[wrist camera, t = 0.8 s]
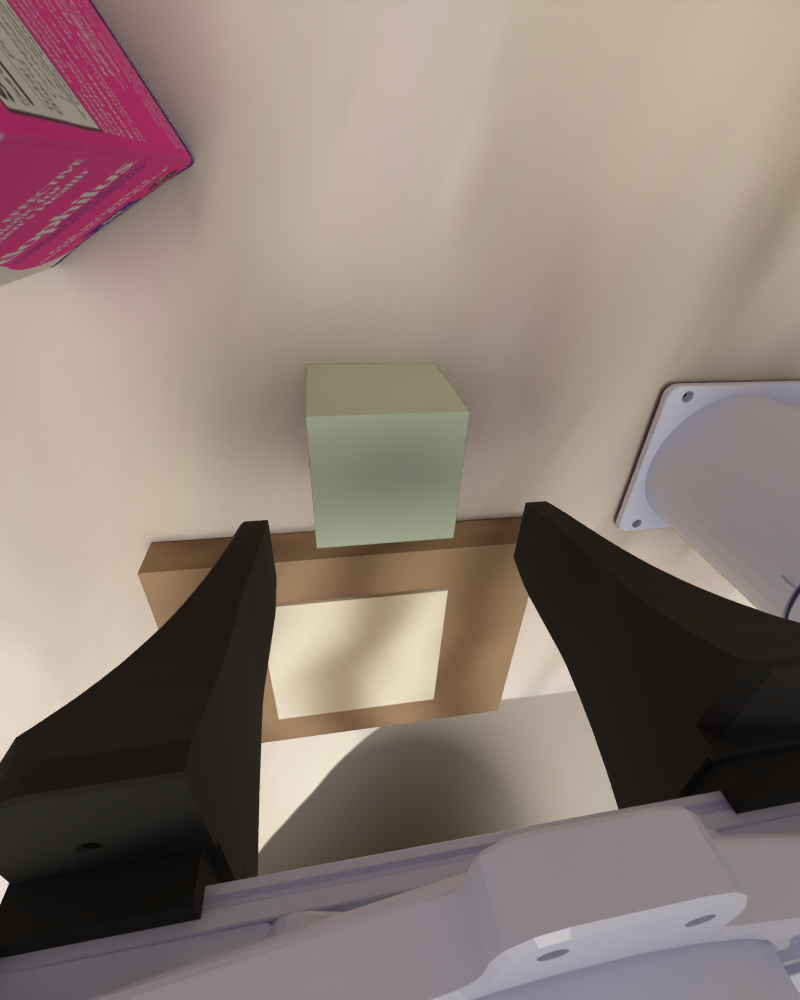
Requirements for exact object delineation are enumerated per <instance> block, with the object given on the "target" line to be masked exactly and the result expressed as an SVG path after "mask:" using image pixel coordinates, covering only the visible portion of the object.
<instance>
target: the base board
mask: <svg viewBox="0 0 800 1000" xmlns="http://www.w3.org/2000/svg"><path fill="white" fill-rule="evenodd" d="M521 522H522V517H517V518H503V519H488V520H474V521H460V522H455V529H454V537H453V538H445V539H432V540H419V541H405V542H392V543H379V544H366V545H353V546H339V547H326V548H317V545H316V533H315V532H304V533H289V534H275V535H270V537H271V544H272V550H273V557H274V563H275V570H276V576H277V589H276V614H275V621H274V628H273V635H272V642H271V649H270V655H269V662H268V669H267V675H266V682H265V690H264V699H263V714H262V736H261V743H264V742H271V741H279V740H286V739H293V738H301V737H308V736H315V735H322V734H330V733H337V732H344V731H351V730H359V729H366V728H373V727H380V726H388V725H394V724H402V723H409V722H417V721H423V720H431V719H438V718H446V717H452V716H460V715H467V714H474V713H482V712H489V711H496V710H498V708H499V704H500V700H501V697H502V693H503V689H504V686H505V682H506V678H507V674H508V671H509V667H510V663H511V660H512V656H513V652H514V648H515V645H516V641H517V637H518V634H519V630H520V626H521V622H522V619H523V615H524V611H525V608H526V604H527V600H528V596H529V595H528V593H527V591H526V589H525V587H524V584H523V582H522V579H521V577H520V574H519V571H518V569H517V566H516V563H515V560H514V552H515V548H516V544H517V539H518V535H519V530H520V526H521ZM232 538H233V537H232ZM232 538H218V539H204V540H190V541H176V542H161V543H151V545H150V547H149V549H148V551H147V554H146V556H145V558H144V560H143V563H142V565H141V567H140V569H139V572H138V576H139V578H140V581H141V584H142V586H143V589H144V592H145V594H146V597H147V599H148V602H149V605H150V607H151V610H152V613H153V615H154V618H155V621H156V623H157V626H158V628H159V629H160V628H161V627H162V626H163V625H164V624H165V623H166V622H167V621H168V620H169V619H170V618H171V616H172V615H173V614H174V613H175V612H176V611H177V610H178V609H179V608H180V607H181V606H182V604H183V603H184V602H185V601H186V600H187V599H188V597H189V596H190V595H191V594H192V593H193V591H194V590H195V589H196V588H197V587H198V585H199V584H200V583H201V582H202V580H203V579H204V578H205V577H206V575H207V574H208V573H209V571H210V570H211V569H212V567H213V566H214V564H215V563H216V562H217V560H218V559H219V558H220V556H221V555H222V553H223V552H224V550H225V549H226V547H227V546H228V544H229V543H230V541H231V540H232Z"/></svg>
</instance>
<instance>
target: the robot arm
mask: <svg viewBox="0 0 800 1000" xmlns="http://www.w3.org/2000/svg"><path fill="white" fill-rule="evenodd" d="M685 393H687V395H686V396H685V397H684V398H683V399H682V397H683V396H684V394H685ZM634 521H635V522H634ZM616 526H617V527H618V528H619V529H620V530H621V531H633V530H646V529H659V528H672V529H673V530H674V531H675V532H676V533H677V534H678V535H679V536H681V537H682V538H683V539H684V540H685V541H686V542H687V543H688V544H689V545H690V546H691V547H692V548H693V549H694V550H695V551H697V552H698V553H699V554H700V555H701V556H702V557H703V558H704V559H705V560H706V561H707V562H708V563H709V564H710V565H711V566H712V567H714V568H715V569H716V570H717V571H718V572H719V573H720V574H721V575H722V576H723V577H724V578H725V579H726V580H727V581H728V582H729V583H731V584H732V585H733V586H734V587H735V588H736V589H737V590H738V591H739V592H740V593H741V594H742V595H743V596H744V597H745V598H747V599H748V600H749V601H750V602H751V603H752V604H753V605H754V606H755V607H756V608H757V609H758V610H757V609H754V608H751V607H748V606H745V605H742V604H739V603H737V602H734V601H731V600H729V599H726V598H723V597H721V596H718V595H716V594H713V593H711V592H708V591H706V590H704V589H701V588H699V587H696V586H694V585H692V584H689V583H687V582H685V581H683V580H680V579H678V578H676V577H674V576H672V575H670V574H668V573H666V572H664V571H662V570H660V569H658V568H656V567H654V566H652V565H650V564H648V563H646V562H644V561H643V560H641V559H639V558H637V557H635V556H634V555H632V554H630V553H628V552H627V551H625V550H623V549H621V548H620V547H618V546H617V545H615V544H613V543H612V542H610V541H608V540H607V539H605V538H603V537H602V536H600V535H599V534H597V533H596V532H594V531H592V530H591V529H589V528H588V527H586V526H585V525H583V524H582V523H580V522H579V521H577V520H575V519H574V518H572V517H571V516H569V515H568V514H566V513H565V512H563V511H561V510H560V509H558V508H557V507H555V506H553V505H552V504H550V503H548V502H546V501H543V502H528V503H526V504H525V509H524V513H523V517H522V522H521V526H520V530H519V535H518V539H517V544H516V548H515V552H514V560H515V563H516V566H517V569H518V571H519V574H520V577H521V579H522V582H523V584H524V587H525V589H526V591H527V593H528V595H529V596H530V598H531V600H532V602H533V604H534V606H535V608H536V609H537V611H538V613H539V615H540V617H541V619H542V620H543V622H544V624H545V626H546V628H547V629H548V631H549V633H550V635H551V637H552V639H553V640H554V642H555V644H556V646H557V648H558V649H559V651H560V653H561V655H562V657H563V659H564V661H565V663H566V666H567V668H568V670H569V673H570V675H571V677H572V680H573V682H574V685H575V687H576V689H577V692H578V694H579V697H580V699H581V702H582V704H583V707H584V710H585V712H586V715H587V717H588V720H589V722H590V725H591V728H592V730H593V733H594V736H595V739H596V742H597V745H598V748H599V750H600V753H601V756H602V759H603V762H604V765H605V768H606V770H607V774H608V777H609V780H610V783H611V787H612V790H613V793H614V796H615V799H616V802H617V806H618V810H613V811H608V812H603V813H597V814H592V815H587V816H581V817H575V818H570V819H565V820H559V821H554V822H549V823H543V824H538V825H532V826H527V827H522V828H516V829H511V830H505V831H500V832H494V833H489V834H484V835H479V836H473V837H468V838H462V839H457V840H451V841H447V842H441V843H435V844H430V845H424V846H419V847H414V848H408V849H403V850H397V851H392V852H387V853H381V854H376V855H370V856H365V857H360V858H354V859H349V860H343V861H338V862H333V863H327V864H322V865H317V866H311V867H306V868H301V869H295V870H290V871H285V872H279V873H274V874H268V875H263V876H258V828H259V790H260V761H261V736H262V714H263V699H264V690H265V682H266V675H267V669H268V662H269V655H270V649H271V642H272V635H273V628H274V621H275V614H276V589H277V576H276V570H275V563H274V557H273V550H272V544H271V537H270V530H269V524H268V520H262V521H247V522H243V523H242V524H241V525H240V527H239V528H238V530H237V532H236V533H235V535H234V536H233V538H232V540H231V541H230V543H229V544H228V546H227V547H226V549H225V550H224V552H223V553H222V555H221V556H220V558H219V559H218V560H217V562H216V563H215V564H214V566H213V567H212V569H211V570H210V571H209V573H208V574H207V575H206V577H205V578H204V579H203V580H202V582H201V583H200V584H199V585H198V587H197V588H196V589H195V590H194V591H193V593H192V594H191V595H190V596H189V597H188V599H187V600H186V601H185V602H184V603H183V604H182V606H181V607H180V608H179V609H178V610H177V611H176V612H175V613H174V614H173V615H172V616H171V618H170V619H169V620H168V621H167V622H166V623H165V624H164V625H163V626H162V627H161V628H160V629H159V630H158V631H157V632H156V633H155V634H154V635H152V636H151V637H150V638H149V639H148V640H147V641H146V642H145V643H144V644H143V645H142V646H140V647H139V648H138V649H137V650H136V651H135V652H134V653H133V654H131V655H130V656H129V657H128V658H127V659H126V660H125V661H123V662H122V663H121V664H120V665H119V666H117V667H116V668H115V669H114V670H112V671H111V672H110V673H108V674H107V675H106V676H105V677H103V678H102V679H101V680H99V681H98V682H97V683H95V684H94V685H93V686H91V687H90V688H89V689H87V690H86V691H85V692H83V693H82V694H81V695H79V696H78V697H76V698H75V699H74V700H72V701H71V702H69V703H68V704H66V705H65V706H63V707H62V708H60V709H59V710H57V711H56V712H54V713H53V714H51V715H50V716H48V717H47V718H45V719H44V720H42V721H41V722H39V723H38V724H36V725H35V726H33V727H32V728H30V729H29V730H27V731H26V732H24V733H23V734H21V735H20V736H18V737H16V739H15V740H14V742H13V743H12V745H11V747H10V748H9V750H8V751H7V753H6V754H5V756H4V758H3V759H2V761H1V762H0V875H1V876H2V877H3V878H4V879H6V880H7V881H8V882H9V885H8V888H7V890H6V892H5V895H4V897H3V899H2V902H1V904H0V1000H800V994H799V992H798V991H797V989H796V987H795V986H794V984H793V982H792V980H791V979H790V976H794V975H797V974H800V381H761V382H719V383H678V384H673V385H671V386H669V387H668V388H667V389H666V390H665V391H664V393H663V395H662V398H661V401H660V403H659V406H658V409H657V411H656V414H655V417H654V420H653V422H652V425H651V428H650V430H649V433H648V436H647V438H646V441H645V444H644V447H643V449H642V452H641V455H640V457H639V460H638V463H637V465H636V468H635V471H634V474H633V476H632V479H631V482H630V484H629V487H628V490H627V493H626V495H625V498H624V501H623V503H622V506H621V509H620V511H619V514H618V517H617V520H616Z"/></svg>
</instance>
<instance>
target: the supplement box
mask: <svg viewBox="0 0 800 1000" xmlns="http://www.w3.org/2000/svg"><path fill="white" fill-rule="evenodd" d="M192 164H193V158H192V156H191V154H190V153H189V151H188V149H187V148H186V146H185V145H184V143H183V142H182V140H181V139H180V137H179V136H178V134H177V133H176V131H175V130H174V128H173V126H172V125H171V123H170V122H169V120H168V119H167V117H166V116H165V114H164V113H163V111H162V110H161V108H160V106H159V105H158V103H157V102H156V100H155V99H154V97H153V96H152V94H151V93H150V91H149V90H148V88H147V86H146V85H145V83H144V82H143V80H142V79H141V77H140V76H139V74H138V73H137V71H136V70H135V68H134V66H133V65H132V63H131V62H130V60H129V59H128V57H127V56H126V54H125V53H124V51H123V50H122V48H121V46H120V45H119V43H118V42H117V40H116V39H115V37H114V36H113V34H112V33H111V31H110V30H109V28H108V26H107V25H106V23H105V22H104V20H103V19H102V17H101V16H100V14H99V13H98V11H97V10H96V8H95V7H94V5H93V4H92V2H91V0H0V286H2V285H5V284H7V283H10V282H13V281H16V280H19V279H22V278H24V277H27V276H29V275H32V274H36V273H38V272H41V271H44V270H46V269H48V268H51V267H53V266H55V265H57V264H58V263H59V262H60V261H62V260H63V259H64V258H65V257H66V256H68V255H69V254H70V253H71V252H72V251H73V250H74V249H76V248H77V247H78V246H79V245H80V244H81V243H83V242H84V241H85V240H86V239H88V238H89V237H90V236H91V235H93V234H94V233H95V232H97V231H98V230H99V229H101V228H102V227H103V226H105V225H106V224H108V223H109V222H110V221H112V220H113V219H115V218H116V217H117V216H119V215H120V214H121V213H123V212H124V211H126V210H127V209H128V208H130V207H131V206H132V205H134V204H135V203H137V202H138V201H139V200H141V199H142V198H144V197H145V196H146V195H148V194H149V193H151V192H152V191H153V190H155V189H156V188H158V187H159V186H160V185H162V184H163V183H165V182H167V181H168V180H170V179H172V178H173V177H175V176H176V175H178V174H179V173H181V172H182V171H184V170H185V169H187V168H189V167H190V166H192Z"/></svg>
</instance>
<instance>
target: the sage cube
mask: <svg viewBox="0 0 800 1000" xmlns="http://www.w3.org/2000/svg"><path fill="white" fill-rule="evenodd" d="M469 412H470V411H469V410H468V409H467V407H466V406H465V405H464V403H463V402H462V400H461V399H460V398H459V396H458V395H457V393H456V392H455V391H454V389H453V388H452V386H451V385H450V384H449V382H448V381H447V379H446V378H445V377H444V375H443V374H442V372H441V371H440V370H439V368H438V367H437V365H436V364H435V363H434V362H430V363H365V364H306V426H307V438H308V450H309V462H310V474H311V486H312V497H313V509H314V521H315V533H316V545H317V548H326V547H339V546H353V545H366V544H379V543H392V542H405V541H419V540H432V539H445V538H453V537H454V529H455V522H456V514H457V506H458V498H459V490H460V482H461V475H462V467H463V459H464V451H465V443H466V436H467V428H468V420H469Z"/></svg>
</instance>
